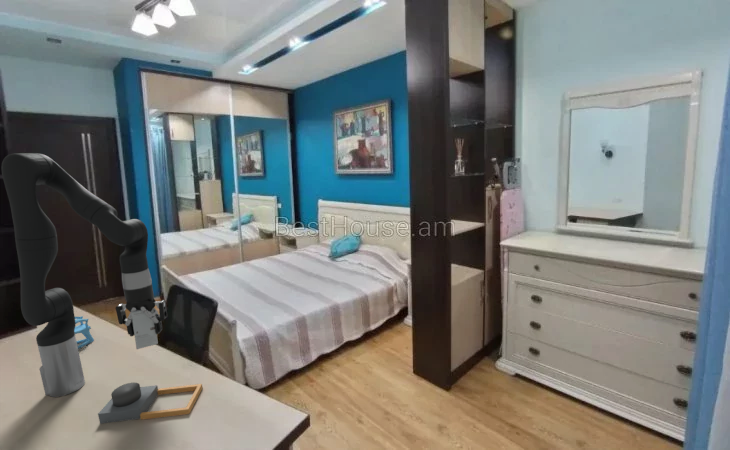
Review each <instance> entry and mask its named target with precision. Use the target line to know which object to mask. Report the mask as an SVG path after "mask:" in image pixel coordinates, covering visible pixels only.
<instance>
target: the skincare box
mask: <svg viewBox="0 0 730 450" xmlns="http://www.w3.org/2000/svg"><path fill="white" fill-rule="evenodd" d="M151 313H152V314H153V313H154V309H152V311H151ZM131 315H132V321H133V329H134V341H135V348H136V350H139V349H143V348H146V347H147V348H148V347H151V346H155V345H158V343H159V341H158V334H156V332H155V325H154V323H155V322H154V321H153V320H152V319H151V318H149V317H148V316H147V315H146V314H145V313H144V312H143V311H142V310H136V311H133V312H131Z"/></svg>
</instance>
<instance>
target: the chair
mask: <svg viewBox="0 0 730 450" xmlns="http://www.w3.org/2000/svg"><path fill="white" fill-rule="evenodd" d="M74 317H75V329H74V332H75V335H76V334H82V335H83V336H84V337H85V338H83V339H80V340H76V342H77V346H78V350H79V349H81V348H83V347H85V346H86V345H88V344H90V343H93V342H95V339H94V336H92V334H91V333H90V329H92V328H91V326H89V325H88V324H89V323H88V322H89V318H84V315H83V316H74ZM84 322H85V323H84ZM79 323H80V324H79ZM76 324H79V325H76ZM78 344H79V345H78Z"/></svg>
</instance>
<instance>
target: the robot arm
mask: <svg viewBox="0 0 730 450" xmlns="http://www.w3.org/2000/svg"><path fill="white" fill-rule="evenodd" d="M0 171H1V175H2V180H3V183H4V188H5V190H6V194H7V199H8V201H9V207H10V211H11V212H10V213H11V217H12V223H13V228H14V229H13V231H14V238H15V239H14V240H15V241H14V242H15V249H16V251H17V252H16V253H17V260H18V266H19V274H20V309H21V314H22V317H23V318H24V321H26V323H28V325H31V326H33V327H34V326H35V327H38V326H42V325H44V324H46V326H45V327H43V329H42V330H41V331H39V333H37V335H36V337H35V338H36V345H37V348H38V353H39V357H40V361H41V362H40V363H41V366H40V367H39V374H40V376H41V377H40V378H41V382H42V385H43V390H44V393H45V394H44V395H45V396H50V397H53V398H56V397H62V396H67V395H69V394H72V393H74V392H76V391H78V390H80V389H81V388H83V386H84V385H85V383H86V380H85V375H84V371H83V367H82V361H81V356H80V352H79V349H78V346H79V345H78V344H77V342H76V341H77V338H76V334H75V332H74V329H75V327H76V324H75V320H76V319H75V317H76V316H75V311H74V303H73V299H72V298H71V295H70V294H69V292H68V291H66V289H64V288H62V287H54V288H51V289H47V290H46V279H47V276H48V274H49V272H50V270H51V268H52V266H53V264H54V262H55V259H56V257H57V255H58V252H59V242H58V234H57V229H56V226H55V225H54V223H53V222H52V221H51V219H50V218H49V217H48V216H47V215H46V213H45V212H44V211H43V209H42V207H41V205H40V204H39V200H38V196H37V195H38V194H37V187H36V186H42V185H44V186H46V187H48V188H51V189H53V190H55V191H56V192H58V193H59V194H60V195H61V196H63V197H64V199H65V200H66V201H67V204H68V205H69V206H70V208H71V210H73V211H74V213H76V214H77V215H78V216H79V217H81V218H82V219H84V220H86V221H87V222H89V223H91V224H92V225H94V226H96V227H97V229H98V230H99V231H100V232H101V233H102V235H104V236H105V238H107V240H109V242H111V243H113V244H115V245H118V246H120V247H121V246H122V247H124V251H123V252H122V253H121V254H120V255H119V264H120V271H121V284H122V289H123V293H124V298H125V302H126V303H119V304H118V305H116V306H115V312H116V316H117V320H118V324H119V325H124V326H125V327H126V331H127V334H128V336H130V337H135V335H134V329H133V321H132V315H131V312H133V311H136V310H142V311H143V312H144V313H145V314H146V315H147V316H148V317H149V318H151V319H152V320H153V321H154V322H155V323H154V325H155V332H156V334H157V335H158V334H159V335H160V333H161V332H162V330H163V323H162V322H163V321H165V320H166V318H168V311H167V301H166V300H165V299H162V300H160V301H159V300H158V301H157V300H155V294H154V289H153V281H152V279H153V278H152V276H151V273H150V269H149V262H148V257H147V251H148V243H149V242H148V241H149V233H148V228H147V226H146V224H145V223H144V221H142V220H140V219H137V218H132V219H128V220H121V219H120V218H119V217H118V211H117V209H116V208H114V206H112V205H110V204H109V203H107V202H106V201H105V200H103V199H102V198H100V197H98V196H97V195H95V194H94V193H92V192H91V191H89V189H86V188H85V187H84V186H83V185H82V184H81V183H79V182H78V181H77V180H76V179H75V178H74V177H73V176H71V175H70V174H69V173H68V172H67V171H66V170H65V169H64V168H62V167H61V165H59V164H58V163H57V162H56V161H54V160H53V159H52V158H51V157H49V156H48V155H45V154H43V153H37V152H26V153H25V152H22V153H18V152H16V153H11V154H10V153H9V154H8V155H6V156H5V157H4V158H3V160H2V162H1V170H0ZM155 307H156V308H157V309H158V310H157V309H156V308H155ZM152 309H154V313H153V314H152V313H151V311H152ZM126 310H127V311H128V312H129V315H128V316H127V313H126ZM158 311H159V312H158Z"/></svg>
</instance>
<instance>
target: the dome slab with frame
mask: <svg viewBox="0 0 730 450" xmlns="http://www.w3.org/2000/svg"><path fill="white" fill-rule="evenodd" d="M202 390H203V383H197V384H188V385H187V384H186V385H179V386H171V387H161V388H158V385H157V384H156V385H155V384H154V385H147V386H140V383H138V382H128V383H125V384H124V383H123V384H122V385H119V386H117V387H116V388H114V390H113V391H112V392H111V395H110V396H111V398H110V399H109V400H108V402H107V403H106V404H105V406H103V407H102V409H101V410H100V411H99V412H98V413H97V415H98V420H99V421H98V422H99V424H107V423H114V422H115V423H116V422H124V421H125V422H126V421H131V420H132V421H133V420H141V421H142V420H149V419H150V420H151V419H157V418H158V419H159V418H167V417H174V416H176V417H177V416H182V415H189V414H190V413H191V411H192V410H193V408H194V406H195V404H196V401H197V400H198V398H199V396H200V394H201V392H202ZM187 392H193V394H192V395H191V397H190V399H189V402H188V403H187V405H186V406H185V407H178V408H168V409H161V410H152V411H149V409H150V407H151V406H152V404H153V403H154V402H155V400H156V399H157V397H158V396H161V395H170V394H177V393H187Z"/></svg>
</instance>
